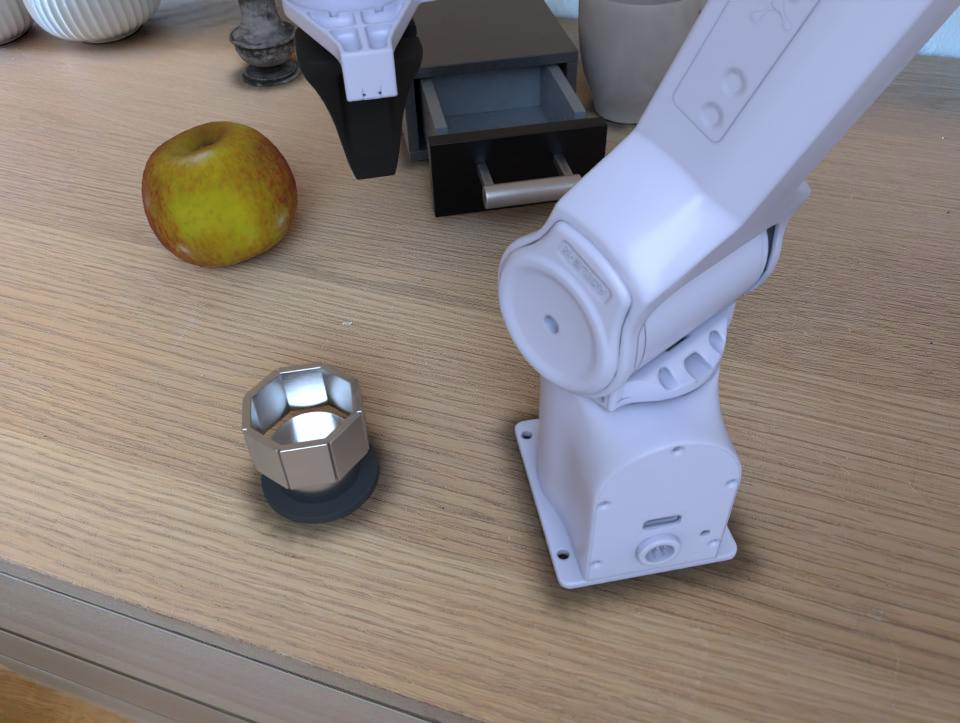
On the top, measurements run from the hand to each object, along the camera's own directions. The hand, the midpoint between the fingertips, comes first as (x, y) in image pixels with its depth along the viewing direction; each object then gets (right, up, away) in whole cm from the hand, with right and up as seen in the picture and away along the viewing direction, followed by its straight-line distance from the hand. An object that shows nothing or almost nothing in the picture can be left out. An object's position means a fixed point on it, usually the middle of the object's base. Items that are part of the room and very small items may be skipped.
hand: (374, 171), depth 42 cm
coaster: (-2, -15, -3) cm, 16 cm away
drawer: (+7, +3, +15) cm, 17 cm away
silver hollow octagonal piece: (-2, -15, -3) cm, 16 cm away
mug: (+17, +11, +24) cm, 31 cm away
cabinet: (+5, +11, +24) cm, 27 cm away
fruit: (-11, -3, +11) cm, 16 cm away
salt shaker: (-13, +16, +31) cm, 37 cm away
